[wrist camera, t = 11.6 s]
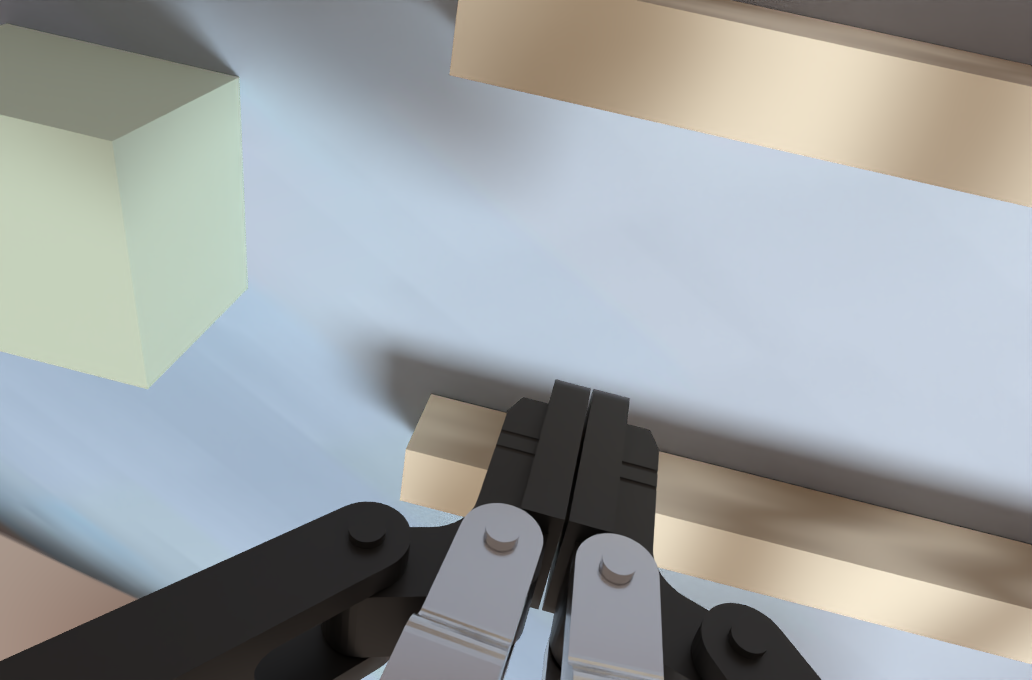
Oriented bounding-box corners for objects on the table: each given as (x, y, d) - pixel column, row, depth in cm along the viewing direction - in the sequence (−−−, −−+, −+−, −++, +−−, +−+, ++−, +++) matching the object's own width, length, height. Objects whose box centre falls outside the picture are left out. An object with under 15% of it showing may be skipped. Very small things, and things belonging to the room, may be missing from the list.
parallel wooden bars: (1496, 166, 14) (1635, 218, 12) (1069, 607, 22) (1110, 684, 20) (491, -53, 15) (462, -38, 13) (424, 442, 23) (400, 500, 21)
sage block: (241, 75, 18) (111, 141, 14) (249, 286, 21) (147, 389, 17) (10, 22, 18) (-183, 70, 14) (54, 237, 22) (-92, 327, 18)
